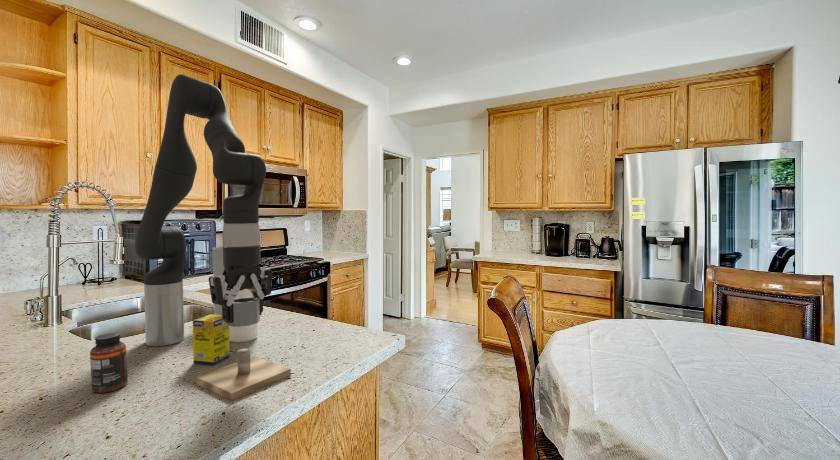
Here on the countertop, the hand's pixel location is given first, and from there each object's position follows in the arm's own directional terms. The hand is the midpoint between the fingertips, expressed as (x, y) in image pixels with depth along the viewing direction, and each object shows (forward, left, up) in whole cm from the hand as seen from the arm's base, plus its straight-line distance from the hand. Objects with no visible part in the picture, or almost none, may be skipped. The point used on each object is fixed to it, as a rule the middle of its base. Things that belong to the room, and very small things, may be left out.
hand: (243, 318), depth 84 cm
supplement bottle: (-20, -18, -14) cm, 30 cm away
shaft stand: (0, 0, -14) cm, 14 cm away
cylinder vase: (-49, +27, -14) cm, 58 cm away
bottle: (-26, +16, -14) cm, 33 cm away
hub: (0, 0, -1) cm, 1 cm away
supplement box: (-17, +2, -14) cm, 22 cm away
